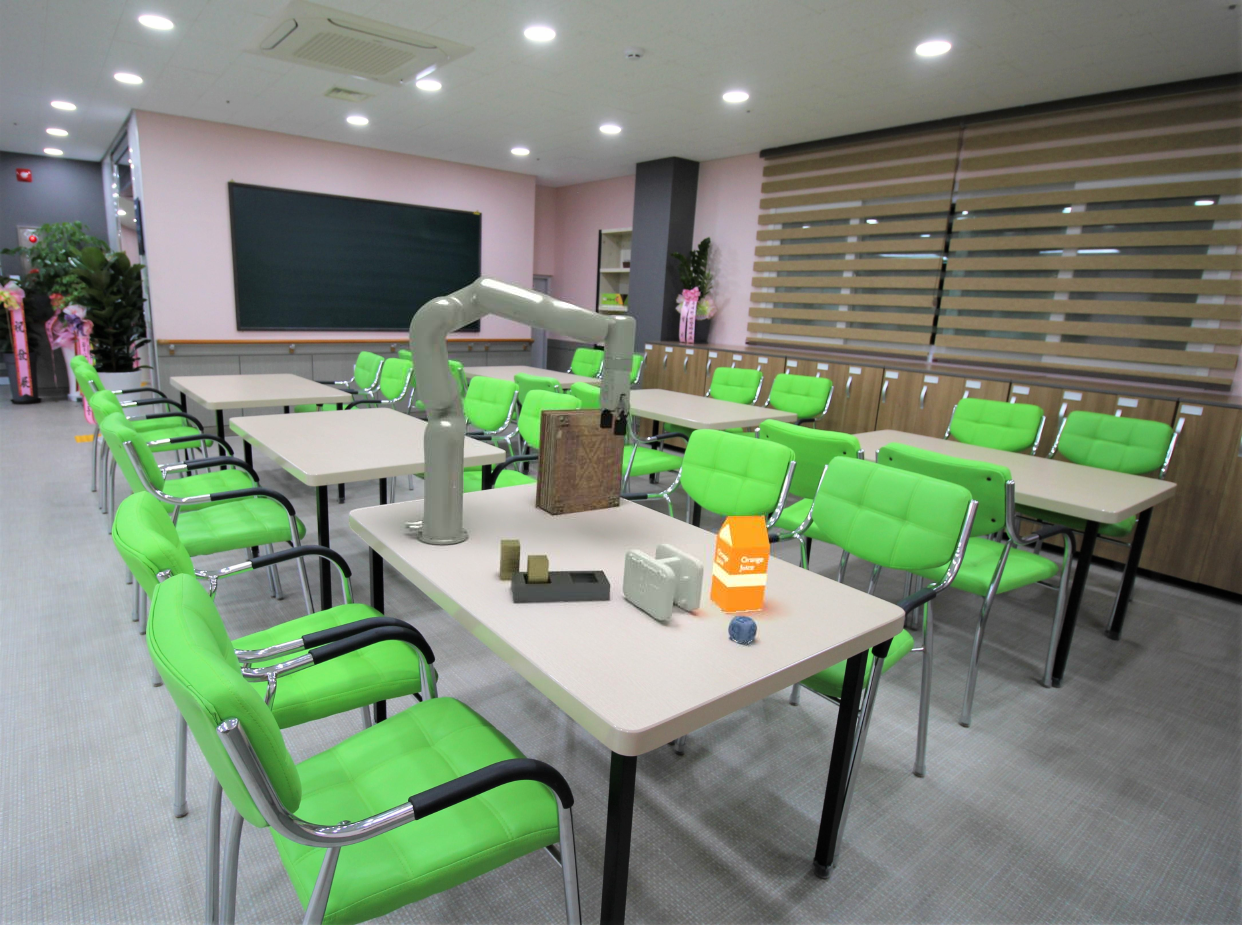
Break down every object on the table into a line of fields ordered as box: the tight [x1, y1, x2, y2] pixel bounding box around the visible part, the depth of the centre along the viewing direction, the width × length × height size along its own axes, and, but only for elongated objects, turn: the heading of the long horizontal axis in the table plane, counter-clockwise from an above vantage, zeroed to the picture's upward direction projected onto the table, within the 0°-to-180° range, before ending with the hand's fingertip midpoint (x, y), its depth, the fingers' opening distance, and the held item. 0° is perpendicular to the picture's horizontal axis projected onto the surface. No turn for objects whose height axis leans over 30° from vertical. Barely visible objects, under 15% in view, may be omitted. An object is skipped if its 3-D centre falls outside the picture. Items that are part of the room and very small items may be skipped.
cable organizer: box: [622, 543, 705, 621], centre depth 140 cm, size 15×11×12 cm
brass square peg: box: [499, 539, 521, 581], centre depth 150 cm, size 4×4×8 cm
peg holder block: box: [510, 554, 611, 604], centre depth 143 cm, size 20×8×8 cm, turn 103°
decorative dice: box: [727, 615, 758, 644], centre depth 129 cm, size 4×4×4 cm
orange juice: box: [709, 515, 771, 612], centre depth 143 cm, size 8×9×20 cm
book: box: [535, 408, 626, 517], centre depth 206 cm, size 25×9×30 cm, turn 128°
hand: (612, 431), depth 174 cm, fingers open, 9 cm apart
